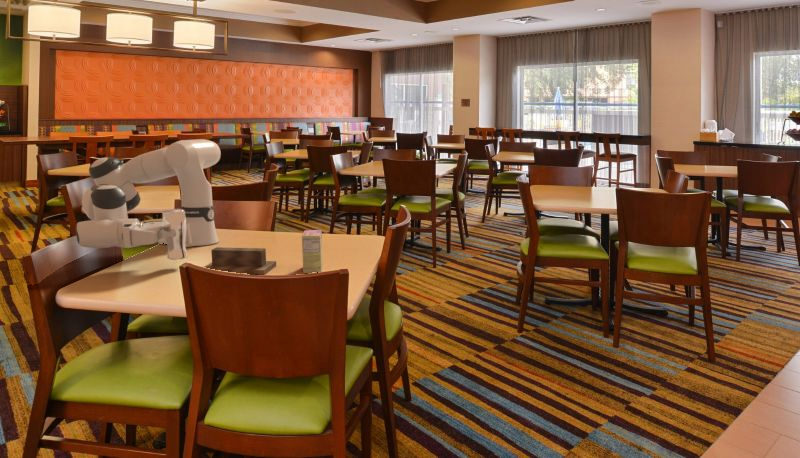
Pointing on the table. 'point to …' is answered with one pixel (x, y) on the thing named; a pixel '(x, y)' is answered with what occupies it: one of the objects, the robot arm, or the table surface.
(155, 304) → the table surface
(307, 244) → the box
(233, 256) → the ridge
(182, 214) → the beer glass
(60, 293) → the table surface
